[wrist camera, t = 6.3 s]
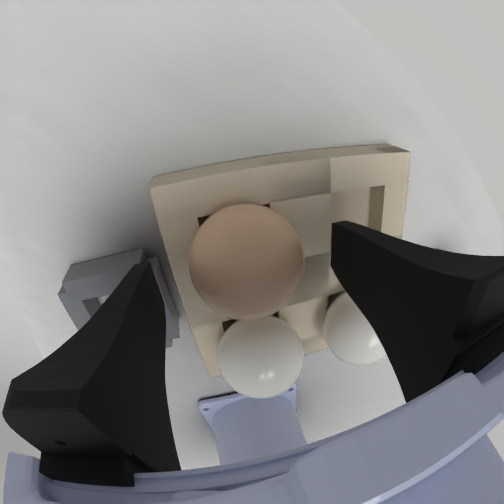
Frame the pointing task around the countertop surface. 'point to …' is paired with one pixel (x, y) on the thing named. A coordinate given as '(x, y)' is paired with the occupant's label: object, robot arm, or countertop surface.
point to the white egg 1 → (260, 357)
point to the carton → (291, 208)
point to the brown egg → (246, 261)
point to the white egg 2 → (351, 333)
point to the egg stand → (110, 287)
